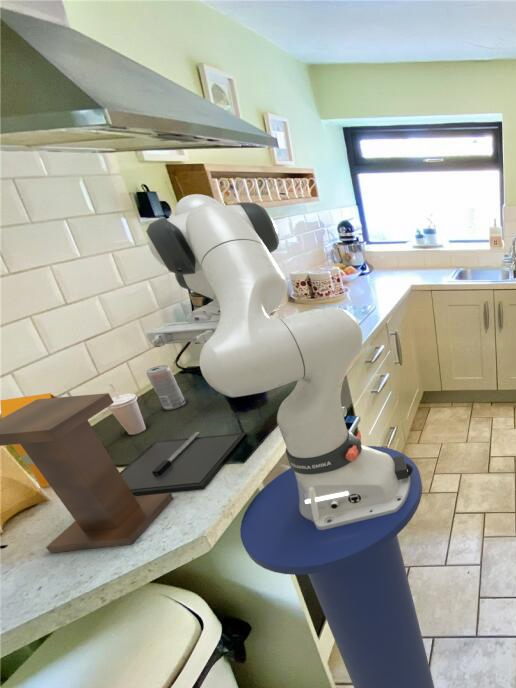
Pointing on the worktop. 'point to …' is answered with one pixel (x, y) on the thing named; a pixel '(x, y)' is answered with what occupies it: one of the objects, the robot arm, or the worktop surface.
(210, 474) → the tablet
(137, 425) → the smoothie
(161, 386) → the energy drink
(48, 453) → the brown wooden pedestal
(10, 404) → the orange juice
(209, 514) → the worktop surface
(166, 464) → the stylus
